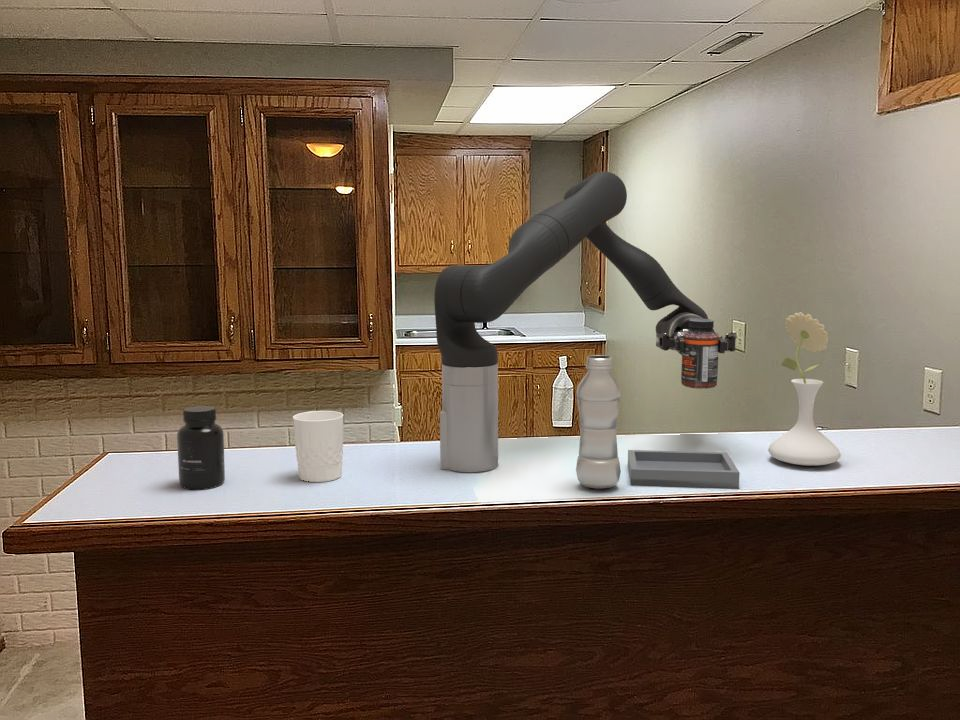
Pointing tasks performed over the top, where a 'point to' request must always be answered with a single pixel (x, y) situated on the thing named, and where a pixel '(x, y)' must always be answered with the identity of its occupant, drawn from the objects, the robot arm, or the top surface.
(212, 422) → the supplement bottle
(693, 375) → the supplement bottle
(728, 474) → the gray tray
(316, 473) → the white cup
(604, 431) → the plastic bottle
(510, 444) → the top surface
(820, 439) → the flower in vase
